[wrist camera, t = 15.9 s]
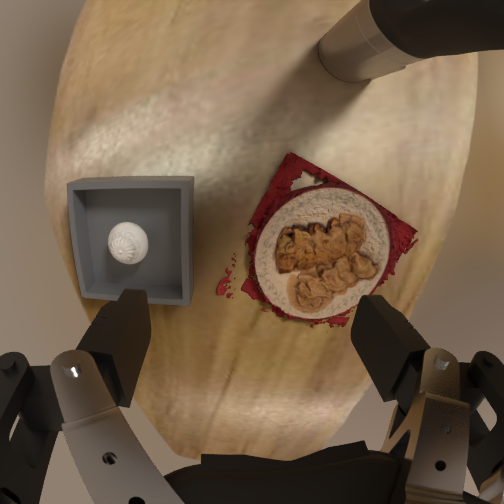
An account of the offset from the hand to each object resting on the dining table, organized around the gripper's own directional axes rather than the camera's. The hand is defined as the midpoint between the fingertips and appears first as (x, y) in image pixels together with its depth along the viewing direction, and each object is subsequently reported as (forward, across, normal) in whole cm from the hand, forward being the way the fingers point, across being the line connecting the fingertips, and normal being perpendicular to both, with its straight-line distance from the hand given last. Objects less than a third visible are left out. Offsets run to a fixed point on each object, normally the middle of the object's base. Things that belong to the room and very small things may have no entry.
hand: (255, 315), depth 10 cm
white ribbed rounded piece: (+31, +15, +8) cm, 35 cm away
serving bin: (+32, +15, +8) cm, 36 cm away
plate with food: (+33, -15, +11) cm, 38 cm away
